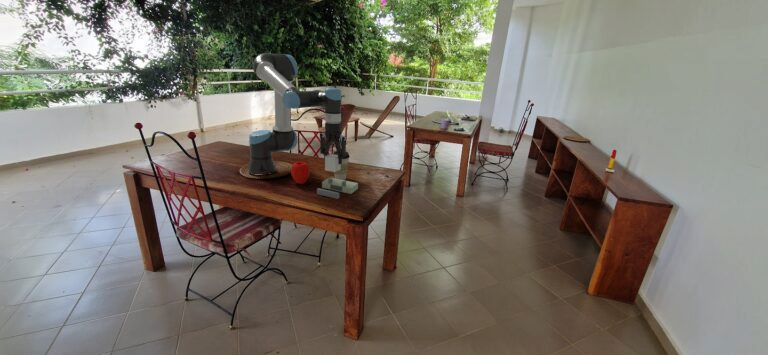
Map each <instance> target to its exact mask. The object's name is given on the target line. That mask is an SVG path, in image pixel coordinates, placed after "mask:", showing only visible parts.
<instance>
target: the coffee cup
mask: <svg viewBox="0 0 768 355" xmlns="http://www.w3.org/2000/svg"><path fill="white" fill-rule="evenodd" d="M332 154H334V155H337V151H336V150H335V151H333V153H332ZM349 159H350V155H349V152H347V151H346V156H344V157H342V164H341V170H339V171H336V172H333V173H334V178H335V179H340V180H345V181H346V178H347V174H348V169H349V168H348V167H349Z"/></svg>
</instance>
